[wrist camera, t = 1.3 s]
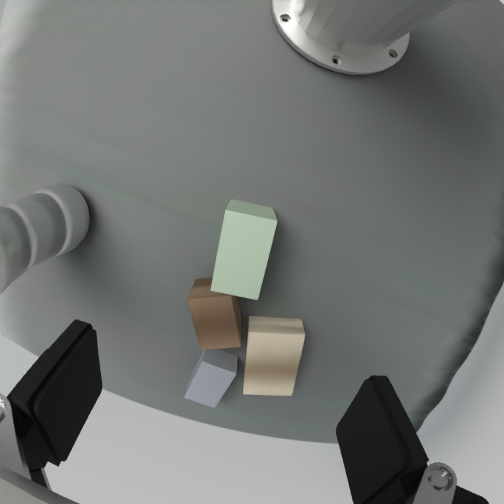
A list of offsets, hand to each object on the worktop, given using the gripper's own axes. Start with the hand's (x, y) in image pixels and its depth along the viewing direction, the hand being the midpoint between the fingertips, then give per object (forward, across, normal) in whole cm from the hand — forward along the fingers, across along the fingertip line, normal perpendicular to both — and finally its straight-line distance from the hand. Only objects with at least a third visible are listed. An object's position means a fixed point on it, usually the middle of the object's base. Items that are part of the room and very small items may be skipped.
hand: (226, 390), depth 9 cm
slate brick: (+18, 0, +14) cm, 23 cm away
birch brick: (+18, -5, +10) cm, 21 cm away
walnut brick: (+17, +1, +6) cm, 18 cm away
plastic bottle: (+17, +17, 0) cm, 24 cm away
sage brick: (+17, 0, 0) cm, 17 cm away
